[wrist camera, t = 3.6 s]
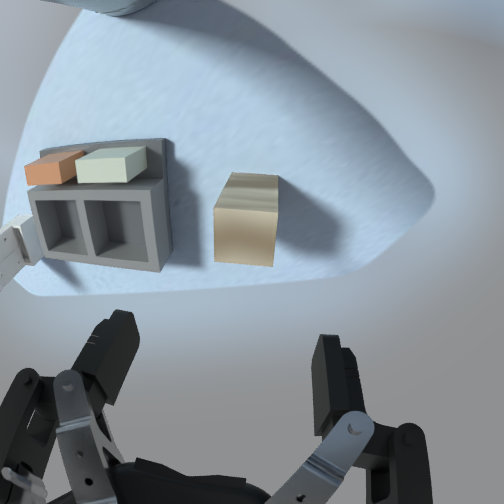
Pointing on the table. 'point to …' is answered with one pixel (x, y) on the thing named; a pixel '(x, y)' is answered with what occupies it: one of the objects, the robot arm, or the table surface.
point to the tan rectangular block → (246, 220)
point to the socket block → (103, 203)
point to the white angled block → (18, 247)
